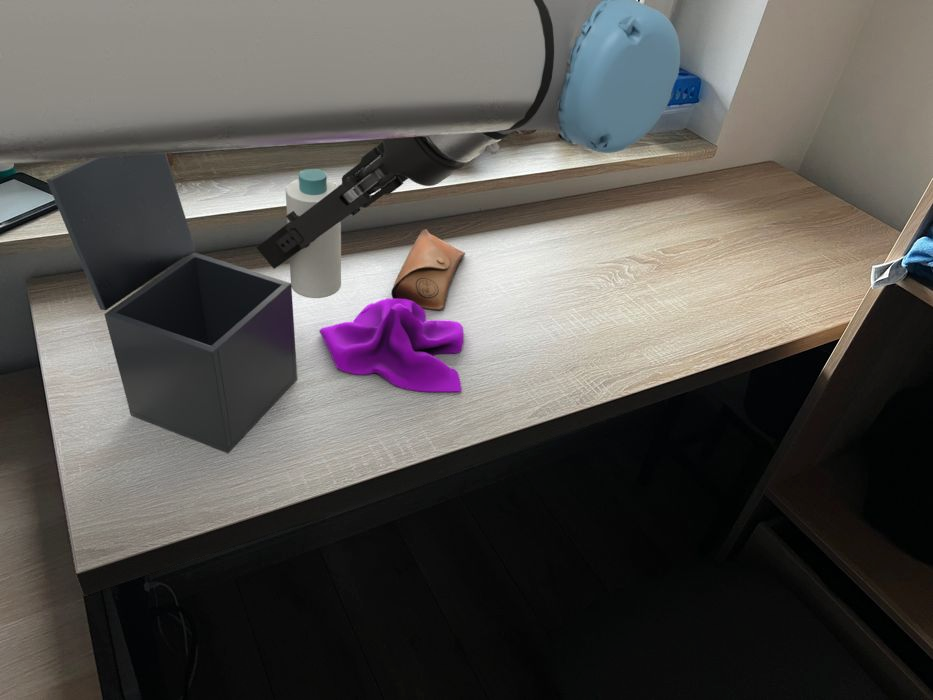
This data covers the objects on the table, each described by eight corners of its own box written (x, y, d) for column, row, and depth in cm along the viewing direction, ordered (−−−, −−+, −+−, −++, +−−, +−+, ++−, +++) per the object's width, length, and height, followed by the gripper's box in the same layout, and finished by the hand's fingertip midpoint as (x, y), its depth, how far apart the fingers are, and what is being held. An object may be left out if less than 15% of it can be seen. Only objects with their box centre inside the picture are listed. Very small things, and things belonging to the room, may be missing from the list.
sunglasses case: (446, 310, 107) (426, 273, 104) (405, 322, 110) (385, 286, 107) (467, 250, 122) (449, 217, 118) (430, 263, 124) (412, 230, 121)
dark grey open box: (297, 379, 93) (291, 283, 84) (228, 453, 82) (212, 352, 73) (208, 347, 96) (193, 251, 87) (130, 415, 85) (103, 313, 76)
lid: (158, 130, 79) (153, 129, 79) (52, 180, 68) (45, 179, 68) (195, 249, 87) (190, 248, 87) (105, 311, 76) (99, 309, 76)
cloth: (297, 350, 98) (294, 313, 94) (377, 290, 111) (378, 255, 107) (436, 417, 90) (440, 380, 86) (505, 344, 103) (510, 309, 99)
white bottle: (325, 303, 74) (322, 191, 66) (281, 289, 75) (273, 177, 67) (350, 279, 78) (350, 171, 70) (307, 266, 79) (303, 158, 71)
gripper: (423, 205, 55) (256, 317, 69) (502, 130, 69) (349, 235, 83) (362, 121, 53) (202, 254, 67) (456, 61, 67) (307, 181, 81)
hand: (283, 243), depth 75 cm, fingers closed on white bottle, 5 cm apart
